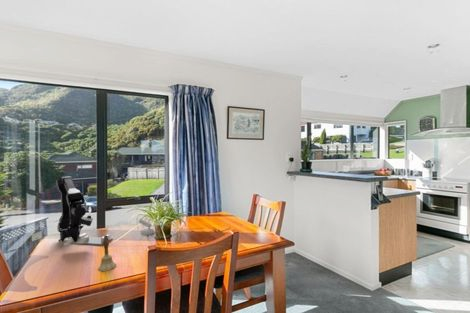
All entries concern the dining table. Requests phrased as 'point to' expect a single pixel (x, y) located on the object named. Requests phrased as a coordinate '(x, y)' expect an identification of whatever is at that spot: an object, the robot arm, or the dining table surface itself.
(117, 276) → the dining table surface
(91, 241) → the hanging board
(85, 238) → the frame
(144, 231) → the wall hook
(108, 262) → the hand bell
